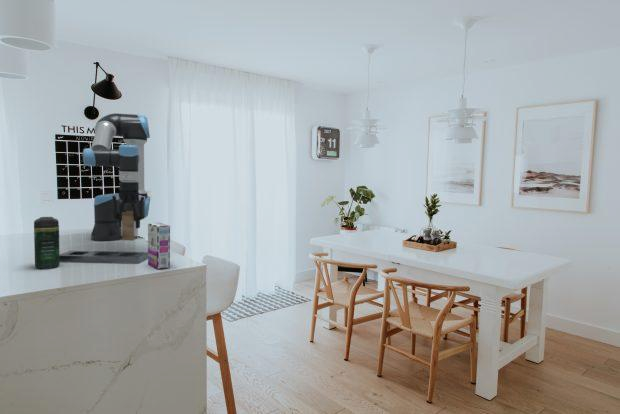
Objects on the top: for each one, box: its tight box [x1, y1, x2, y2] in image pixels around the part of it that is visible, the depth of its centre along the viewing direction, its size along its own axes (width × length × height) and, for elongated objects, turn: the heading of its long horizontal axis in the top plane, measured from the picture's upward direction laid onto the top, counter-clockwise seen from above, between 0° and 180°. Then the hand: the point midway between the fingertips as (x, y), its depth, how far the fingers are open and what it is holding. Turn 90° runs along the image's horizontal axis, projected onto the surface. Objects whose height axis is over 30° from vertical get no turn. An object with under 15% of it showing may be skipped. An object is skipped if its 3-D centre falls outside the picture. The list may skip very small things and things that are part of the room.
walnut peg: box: [121, 211, 138, 241], centre depth 175 cm, size 4×4×12 cm
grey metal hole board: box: [59, 250, 148, 265], centre depth 165 cm, size 10×32×2 cm, turn 91°
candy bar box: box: [147, 222, 171, 270], centre depth 157 cm, size 11×5×16 cm, turn 40°
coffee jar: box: [33, 216, 61, 269], centre depth 152 cm, size 10×8×19 cm
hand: (129, 235), depth 176 cm, fingers closed on walnut peg, 4 cm apart
